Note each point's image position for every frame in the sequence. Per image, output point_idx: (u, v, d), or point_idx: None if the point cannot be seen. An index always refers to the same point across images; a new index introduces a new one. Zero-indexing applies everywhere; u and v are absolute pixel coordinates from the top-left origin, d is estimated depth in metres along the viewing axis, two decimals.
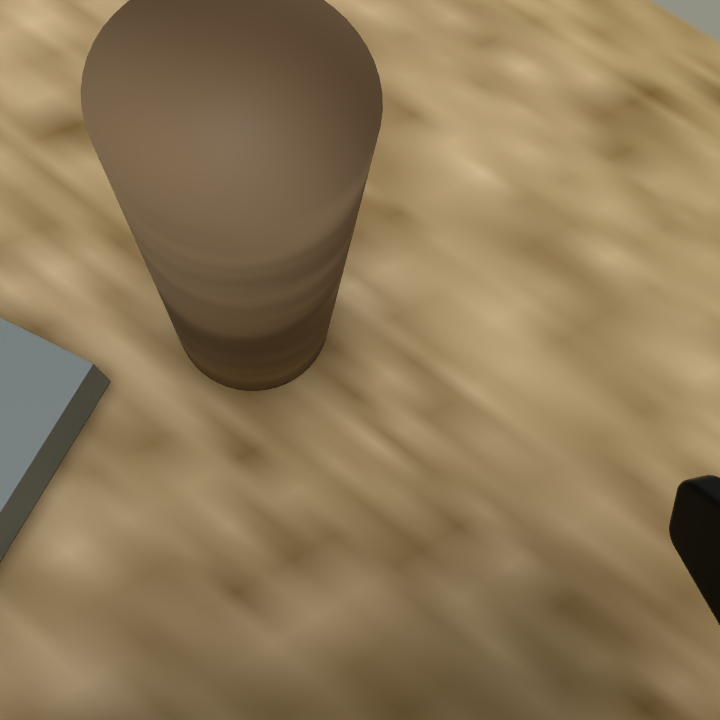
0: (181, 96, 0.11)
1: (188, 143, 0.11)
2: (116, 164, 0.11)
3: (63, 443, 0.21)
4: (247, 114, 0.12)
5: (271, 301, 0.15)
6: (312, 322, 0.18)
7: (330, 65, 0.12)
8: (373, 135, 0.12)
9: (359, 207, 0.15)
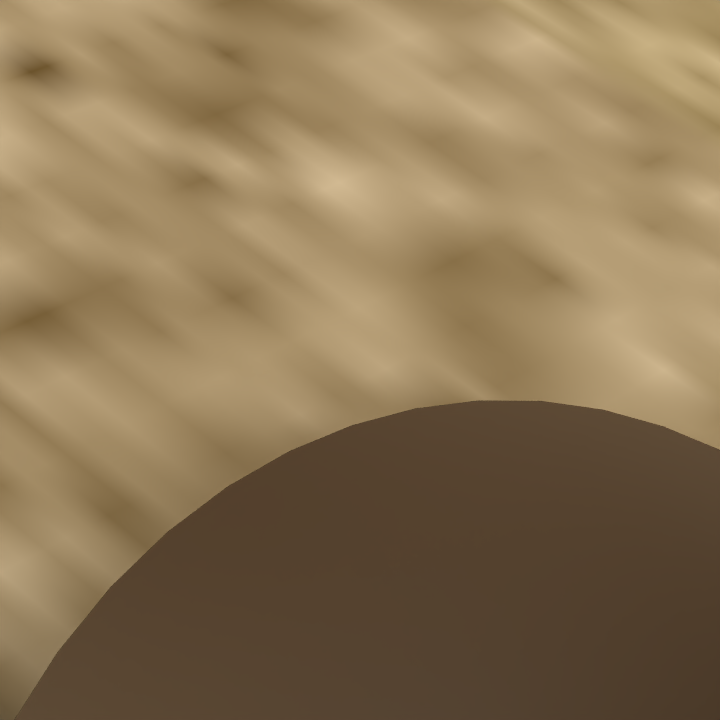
0: None
1: None
2: None
3: None
4: None
5: None
6: None
7: None
8: None
9: None
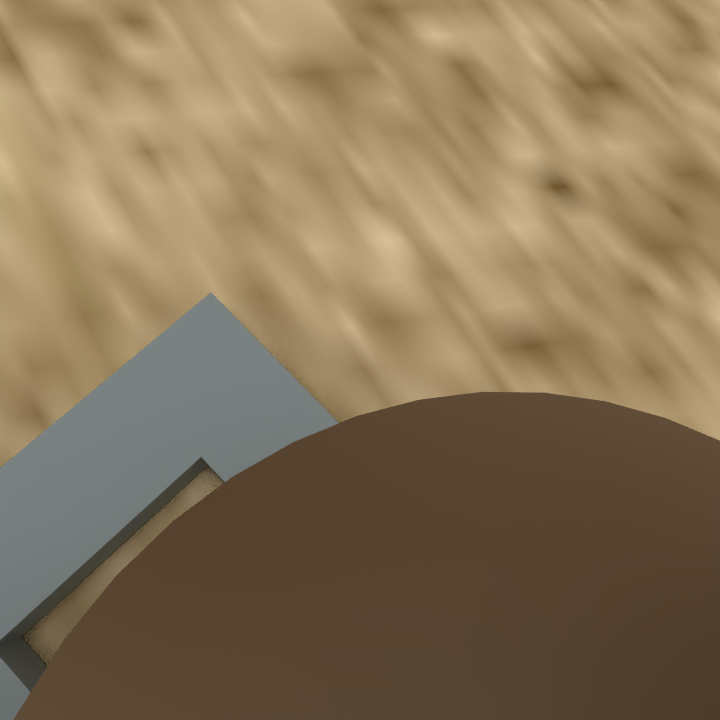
0: None
1: None
2: None
3: None
4: None
5: None
6: None
7: None
8: None
9: None
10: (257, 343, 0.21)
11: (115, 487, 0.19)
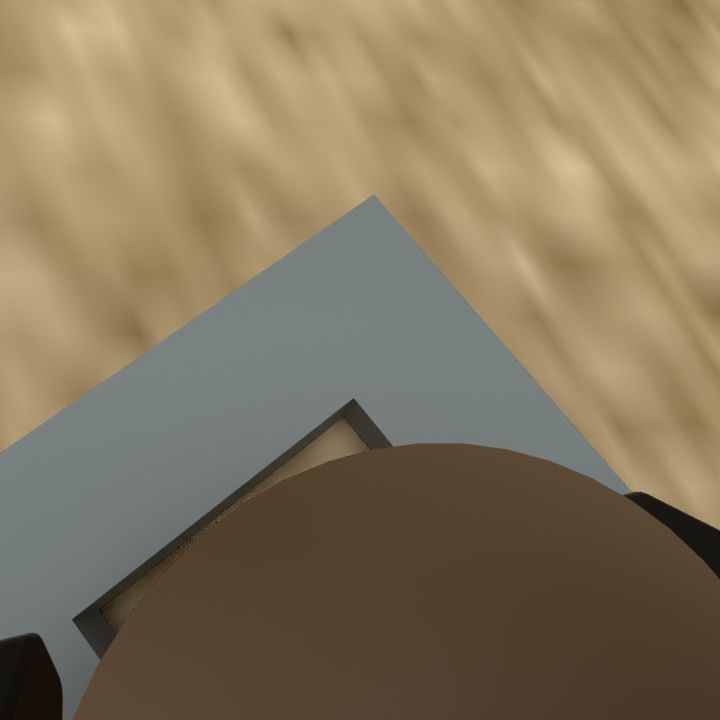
0: None
1: None
2: None
3: None
4: None
5: None
6: None
7: (686, 717, 0.05)
8: None
9: None
10: (429, 263, 0.16)
11: (243, 425, 0.15)
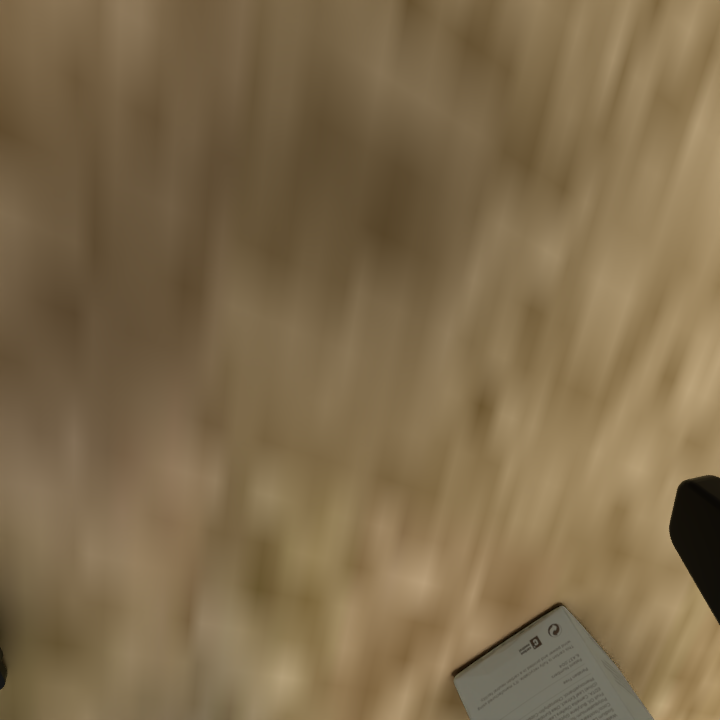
0: None
1: None
2: None
3: None
4: None
5: None
6: None
7: None
8: None
9: None
10: None
11: None
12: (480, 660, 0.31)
